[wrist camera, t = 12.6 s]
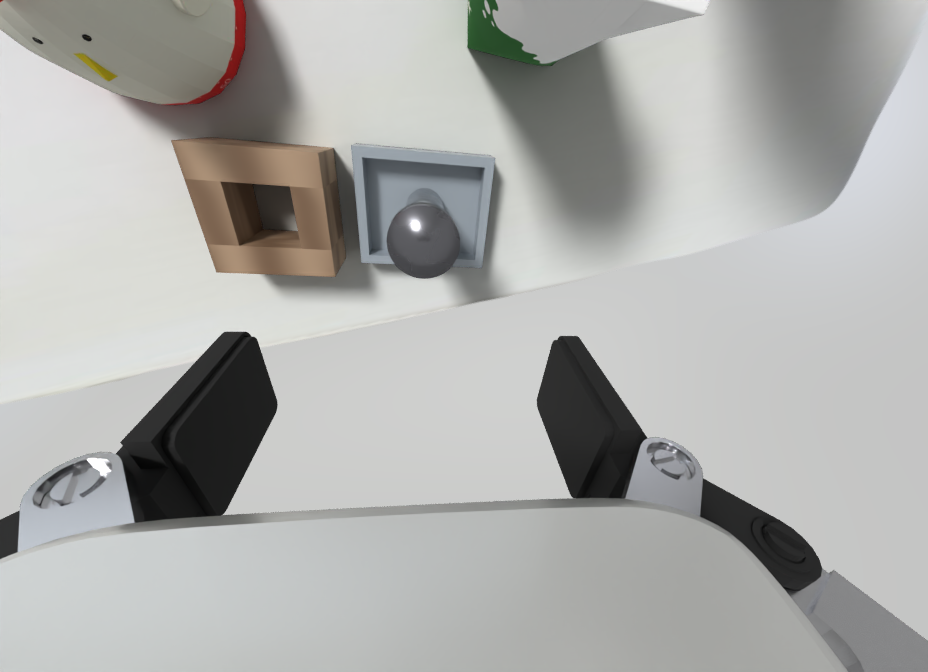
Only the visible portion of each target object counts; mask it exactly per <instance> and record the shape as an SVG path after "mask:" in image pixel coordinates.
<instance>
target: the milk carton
mask: <svg viewBox="0 0 928 672" xmlns="http://www.w3.org/2000/svg"><path fill="white" fill-rule="evenodd" d="M709 2H710V0H468V48H470V49H474V50H478V51H481V52H485V53H489V54H493V55H497V56H501V57H504V58H508V59H512V60H516V61H521V62H525V63H529V64H534V65H541V66H546V65H547V66H552V65H553V64H554V63H555V62H557V61H558V60H559V59H562V58H564V57H566V56H568V55H571V54H573V53H575V52H578V51H580V50H582V49H584V48H587V47H589V46H591V45H593V44H596V43H598V42H600V41H602V40H605V39H608V38H612V37H615V36H619V35H623V34H627V33H631V32H635V31H639V30H643V29H647V28H651V27H655V26H659V25H663V24H667V23H671V22H675V21H679V20H683V19H687V18H691V17H695V16H701V15H704V14H705V12H706V9H707V7H708V4H709Z"/></svg>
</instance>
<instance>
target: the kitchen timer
mask: <svg viewBox="0 0 928 672" xmlns="http://www.w3.org/2000/svg"><path fill="white" fill-rule="evenodd" d="M245 28H246V13H245V9H244V4H243V0H0V30H2V31H3V32H4V33H6V34H7V35H8V36H10V37H11V38H12V39H14V40H15V41H17V42H18V43H19V44H21V45H22V46H24V47H25V48H27V49H28V50H30V51H32V52H33V53H35V54H37V55H39V56H41V57H42V58H44V59H46V60H48V61H50V62H52V63H54V64H56V65H58V66H60V67H62V68H64V69H66V70H68V71H70V72H72V73H74V74H76V75H78V76H80V77H82V78H84V79H86V80H88V81H90V82H92V83H94V84H96V85H98V86H100V87H103V88H105V89H107V90H109V91H111V92H114V93H117V94H120V95H123V96H127V97H131V98H135V99H140V100H144V101H148V102H152V103H156V104H162V105H183V104H198V103H201V102H203V101H206V100H208V99H210V98H212V97H214V96H216V95H218V94H220V93H221V92H222V91H223V90H224V89H225V87H226V86H227V85H228V84H229V83H230V81H231V80H232V79H233V78H234V77H235V75H236V74H237V71H238V68H239V65H240V62H241V59H242V56H243V53H244V50H245Z"/></svg>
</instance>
